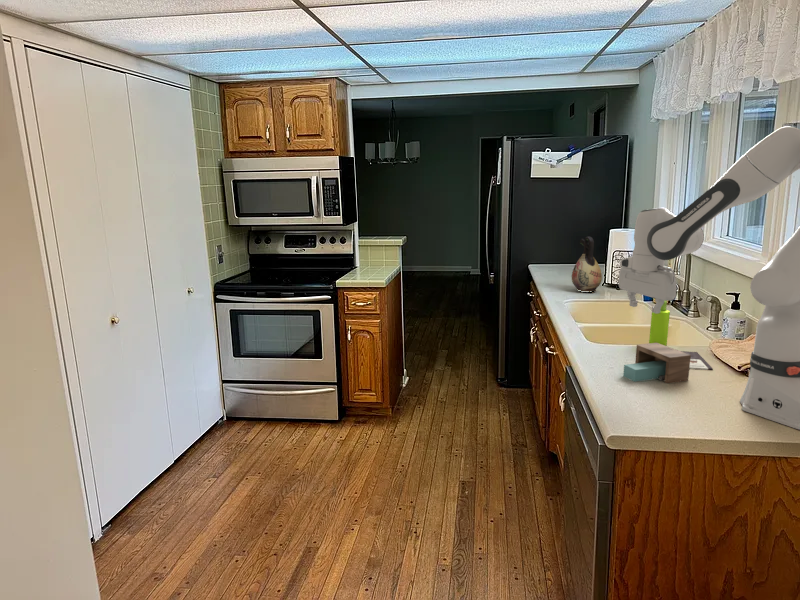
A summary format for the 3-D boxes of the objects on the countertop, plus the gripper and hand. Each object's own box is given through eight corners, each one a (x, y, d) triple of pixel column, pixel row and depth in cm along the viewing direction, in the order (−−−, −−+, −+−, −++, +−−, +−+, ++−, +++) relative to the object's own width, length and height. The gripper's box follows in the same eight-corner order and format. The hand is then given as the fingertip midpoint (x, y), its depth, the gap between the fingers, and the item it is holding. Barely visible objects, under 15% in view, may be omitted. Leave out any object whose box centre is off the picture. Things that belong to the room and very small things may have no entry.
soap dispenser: (667, 349, 203) (673, 294, 199) (647, 346, 207) (652, 292, 203) (671, 345, 208) (676, 291, 203) (650, 342, 211) (655, 289, 207)
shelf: (688, 380, 172) (690, 355, 170) (667, 383, 170) (669, 357, 168) (654, 366, 185) (656, 342, 183) (634, 368, 183) (636, 344, 181)
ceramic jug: (566, 289, 313) (569, 234, 307) (594, 288, 314) (597, 234, 308) (577, 295, 297) (581, 237, 291) (606, 294, 298) (611, 237, 291)
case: (660, 372, 180) (661, 360, 179) (672, 377, 175) (673, 365, 175) (623, 377, 176) (624, 364, 175) (634, 382, 171) (635, 369, 170)
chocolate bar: (697, 352, 198) (712, 368, 181) (696, 354, 198) (712, 371, 181) (669, 350, 200) (682, 366, 183) (668, 353, 200) (681, 369, 183)
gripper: (684, 268, 159) (679, 316, 162) (633, 258, 178) (629, 302, 181) (665, 269, 157) (661, 318, 160) (616, 259, 176) (613, 303, 179)
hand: (644, 309), depth 170 cm, fingers open, 8 cm apart
